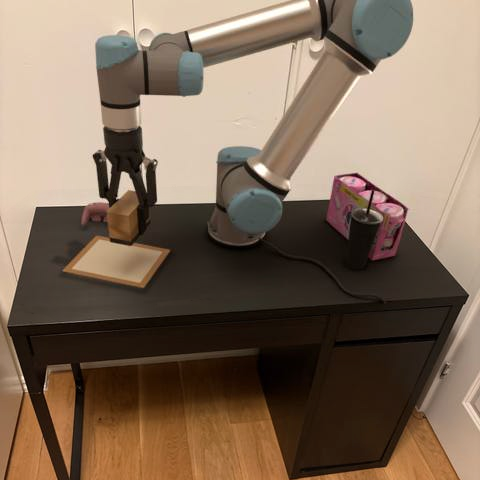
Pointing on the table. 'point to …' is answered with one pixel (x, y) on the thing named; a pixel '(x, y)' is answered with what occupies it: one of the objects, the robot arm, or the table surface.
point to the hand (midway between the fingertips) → (130, 229)
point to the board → (117, 262)
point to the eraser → (124, 220)
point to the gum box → (356, 197)
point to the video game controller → (95, 212)
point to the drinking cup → (362, 235)
